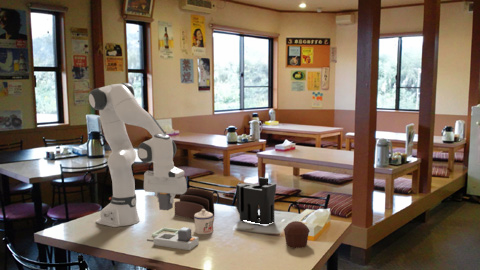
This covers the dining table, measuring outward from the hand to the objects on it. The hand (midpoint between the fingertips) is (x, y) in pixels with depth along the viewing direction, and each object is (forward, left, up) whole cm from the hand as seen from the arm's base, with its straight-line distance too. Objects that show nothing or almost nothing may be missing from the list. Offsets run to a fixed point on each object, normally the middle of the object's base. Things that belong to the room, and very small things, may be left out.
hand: (165, 202), depth 191 cm
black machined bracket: (+25, +45, -20) cm, 55 cm away
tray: (-7, +10, -19) cm, 23 cm away
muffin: (+53, +20, -20) cm, 60 cm away
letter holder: (-9, +42, -20) cm, 48 cm away
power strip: (+1, 0, -19) cm, 19 cm away
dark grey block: (+9, 0, -18) cm, 21 cm away
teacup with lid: (+8, +21, -20) cm, 30 cm away
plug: (0, 0, -3) cm, 3 cm away
